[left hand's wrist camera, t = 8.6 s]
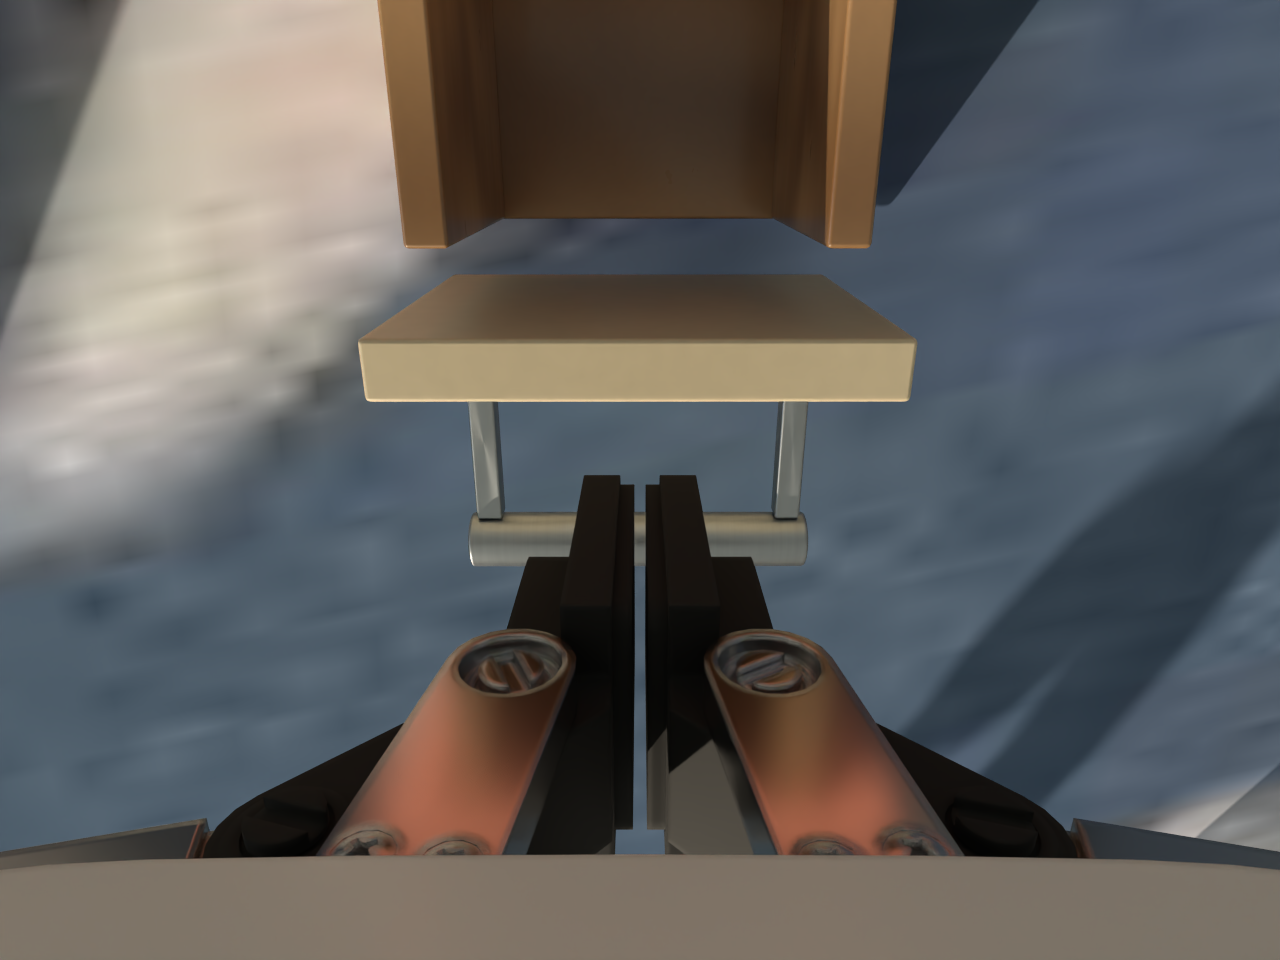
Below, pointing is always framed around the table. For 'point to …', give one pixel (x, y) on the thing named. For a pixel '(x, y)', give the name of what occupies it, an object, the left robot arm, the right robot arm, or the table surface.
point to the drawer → (637, 189)
